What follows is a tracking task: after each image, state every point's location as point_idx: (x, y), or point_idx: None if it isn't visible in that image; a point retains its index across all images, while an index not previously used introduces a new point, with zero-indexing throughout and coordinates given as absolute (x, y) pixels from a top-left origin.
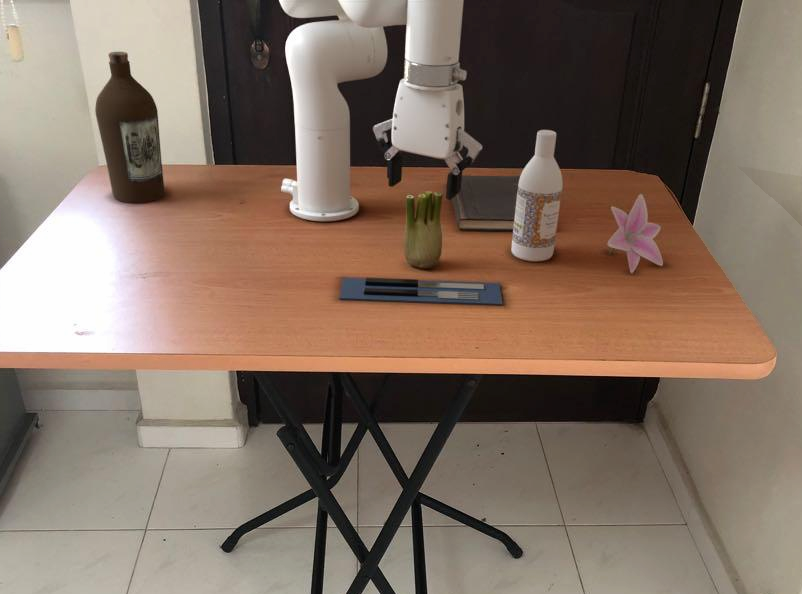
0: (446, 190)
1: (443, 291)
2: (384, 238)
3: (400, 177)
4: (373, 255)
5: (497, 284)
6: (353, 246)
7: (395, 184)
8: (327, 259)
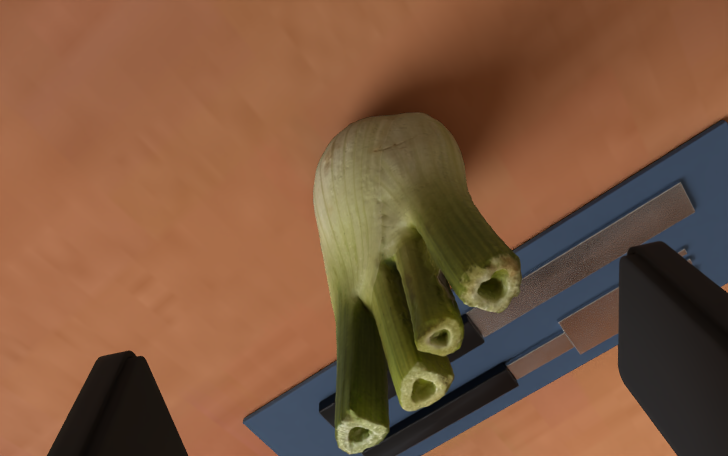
0: (653, 421)
1: (576, 314)
2: (48, 42)
3: (137, 386)
4: (165, 221)
5: (724, 137)
6: (35, 208)
7: (175, 431)
8: (76, 352)
